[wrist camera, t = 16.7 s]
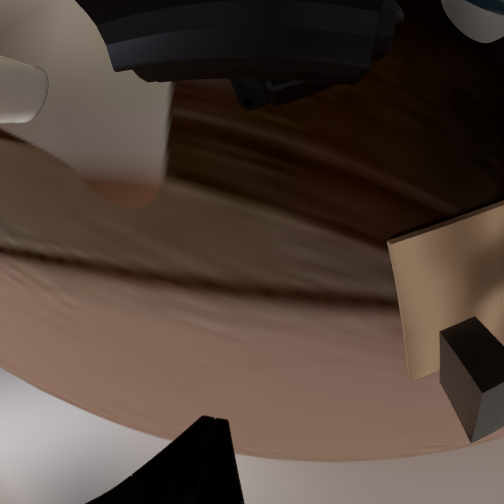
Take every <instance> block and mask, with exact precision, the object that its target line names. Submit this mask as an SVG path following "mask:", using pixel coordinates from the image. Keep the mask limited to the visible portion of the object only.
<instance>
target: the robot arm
mask: <svg viewBox="0 0 504 504" xmlns="http://www.w3.org/2000/svg"><path fill="white" fill-rule="evenodd" d="M75 1H76V2H77V3H78V4H79V5H80V6H81V7H82V8H83V9H84V11H85V12H86V13H87V14H88V15H89V17H90V18H91V19H92V21H93V22H94V23H95V24H96V26H97V28H98V30H99V32H100V34H101V36H102V38H103V40H104V42H105V44H106V46H107V50H108V53H109V56H110V60H111V63H112V66H113V69H114V71H115V72H121V71H126V70H133V71H134V72H135V73H136V74H137V75H138V76H139V77H140V78H141V79H143V80H145V81H146V82H155V81H157V82H169V81H180V80H195V79H217V78H230V80H231V83H232V85H233V88H234V90H235V93H236V95H237V98H238V100H239V103H240V105H241V107H242V108H243V109H245V110H252V109H255V108H258V107H261V106H264V105H267V104H270V103H272V105H275V106H280V105H283V104H286V103H289V102H292V101H296V100H299V99H302V98H306V97H309V96H312V95H314V94H315V92H316V89H318V88H322V87H325V86H329V85H333V84H337V85H344V84H348V85H355V84H356V83H358V82H359V81H360V80H361V79H362V78H363V76H364V75H365V73H366V70H367V71H368V70H369V69H370V64H371V60H380V59H382V58H383V57H384V56H385V55H386V53H387V52H390V50H391V46H392V40H393V34H394V30H395V29H396V28H398V27H399V26H401V25H402V24H403V21H404V13H403V10H402V9H401V8H400V6H399V5H398V4H397V0H75ZM247 99H250V100H252V103H251V104H250V105H248V106H247V105H245V101H246V100H247ZM85 504H244V499H243V494H242V489H241V484H240V480H239V474H238V470H237V464H236V459H235V453H234V448H233V443H232V437H231V432H230V426H229V421H228V420H227V419H222V418H216V419H215V418H214V417H210V416H205V415H203V416H201V417H200V418H199V419H198V420H197V421H195V422H194V423H193V424H192V425H191V426H190V427H189V428H188V429H186V430H185V431H184V432H183V433H182V434H181V435H179V436H178V437H177V438H176V439H175V440H174V441H172V442H171V443H170V444H169V445H168V446H167V447H165V448H164V449H163V450H162V451H161V452H159V453H158V454H157V455H156V456H154V457H153V458H152V459H151V460H150V461H148V462H147V463H146V464H145V465H143V466H142V467H141V468H140V469H138V470H137V471H136V472H135V473H133V474H132V476H129V477H128V478H126V479H125V480H124V481H123V482H121V483H120V484H118V485H117V486H115V487H114V488H113V489H111V490H109V491H108V492H106V493H104V494H102V495H101V496H99V497H97V498H95V499H93V500H91V501H89V502H87V503H85Z"/></svg>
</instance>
